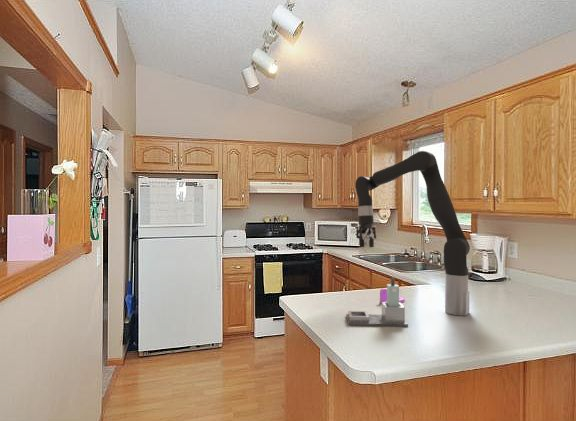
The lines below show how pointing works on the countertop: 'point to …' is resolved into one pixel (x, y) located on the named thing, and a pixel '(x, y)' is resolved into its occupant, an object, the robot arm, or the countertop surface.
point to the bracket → (384, 296)
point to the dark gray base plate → (379, 317)
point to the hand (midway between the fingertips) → (366, 247)
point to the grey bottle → (392, 294)
